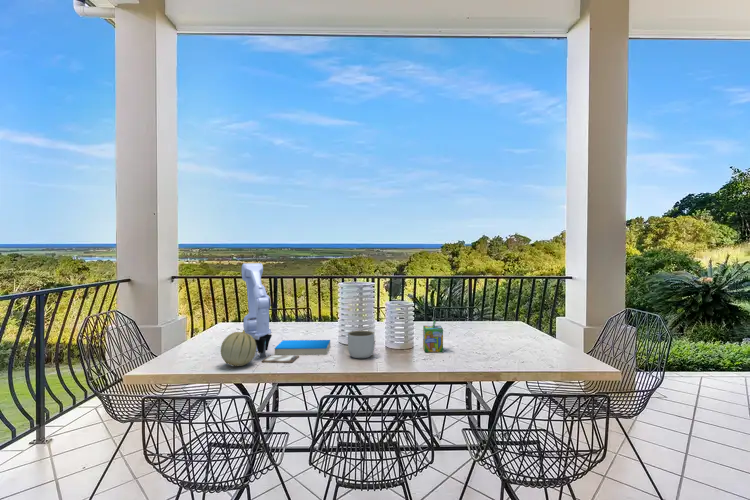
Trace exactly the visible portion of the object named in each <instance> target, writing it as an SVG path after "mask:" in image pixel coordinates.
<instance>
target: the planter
mask: <svg viewBox="0 0 750 500" xmlns="http://www.w3.org/2000/svg"><path fill="white" fill-rule="evenodd" d="M374 349H375V332H373V331H370V330H353V331H349V332H348V333H347V350H348V353H349V356H351V357H352V358H354V359H367V358H370V357H372V355H373V353H374V352H375V351H374Z"/></svg>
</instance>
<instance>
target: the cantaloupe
mask: <svg viewBox="0 0 750 500" xmlns="http://www.w3.org/2000/svg"><path fill="white" fill-rule="evenodd" d="M256 348H257V347H256V342H255V340H254V338H253V337H252V336H251V335H249V334H247V333H245V331H244V329H243V330H242V331H241V332H240V331H235V332H232V333H230V334H229V335H227V336H226V337H225V338H224V339H223V341H222V342H221V346H220V356H221V358H222V359H223V361H224V362H225V363H226V364H228V365H230V366H231V367H243V366H245V365H247V364H249V363H250V362H251V361H252V360H253V359H254V358H255V356H256V353H257V351H256Z"/></svg>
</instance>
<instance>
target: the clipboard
mask: <svg viewBox="0 0 750 500" xmlns="http://www.w3.org/2000/svg"><path fill="white" fill-rule="evenodd" d="M299 358H300V355H275V354H270V355H268V356H267V357H265V358H263V360H261V363H271V364H272V363H273V364H274V363H276V364H278V363H280V364H293V363H294V362H296V360H297V359H299Z"/></svg>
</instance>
